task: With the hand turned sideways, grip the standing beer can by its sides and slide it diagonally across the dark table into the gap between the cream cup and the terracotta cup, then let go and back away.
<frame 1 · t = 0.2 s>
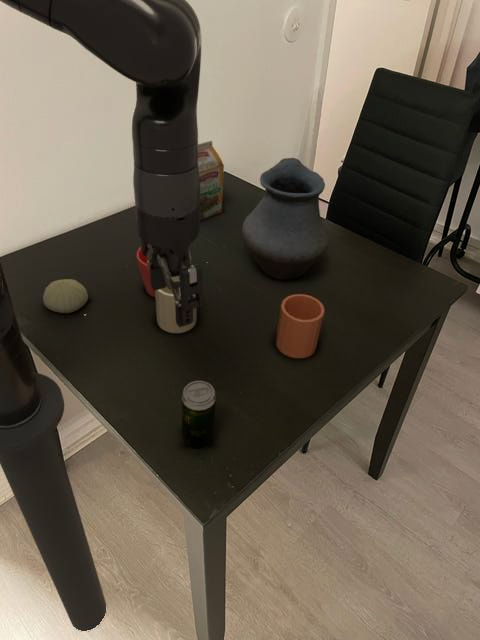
hand: (171, 305, 69), 28 cm above the table, tool pointing down, fingers open, 8 cm apart
sea urchin shell: (67, 303, 111), on the table
flower pot: (163, 288, 117), on the table
terracotta cup: (296, 344, 105), on the table
dark grey vase: (280, 266, 126), on the table
cream cup: (176, 320, 109), on the table
beer can: (198, 439, 86), on the table
milk carton: (196, 210, 145), on the table
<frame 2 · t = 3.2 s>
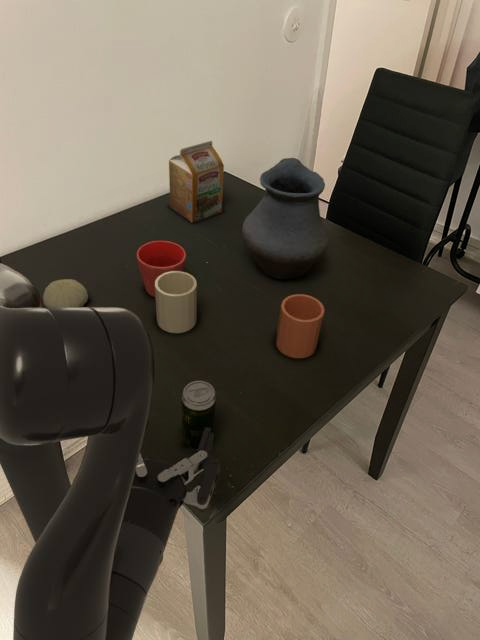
hand: (176, 424, 66), 18 cm above the table, tool horizontal, fingers open, 8 cm apart
nothing on the table moved.
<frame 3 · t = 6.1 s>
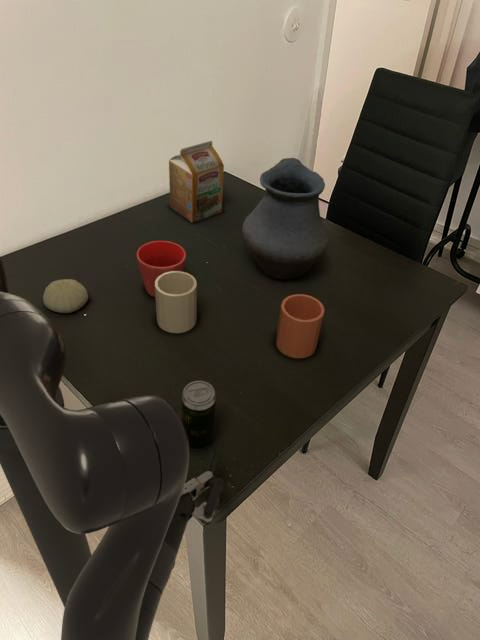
hand: (186, 446, 77), 7 cm above the table, tool horizontal, fingers open, 8 cm apart
nothing on the table moved.
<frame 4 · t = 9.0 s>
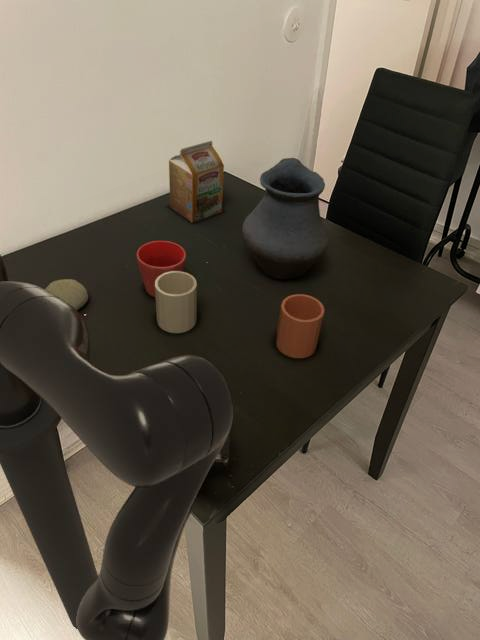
hand: (202, 401, 84), 7 cm above the table, tool horizontal, fingers closed on beer can, 5 cm apart
beer can: (198, 439, 86), on the table, touching gripper
everything else where it was.
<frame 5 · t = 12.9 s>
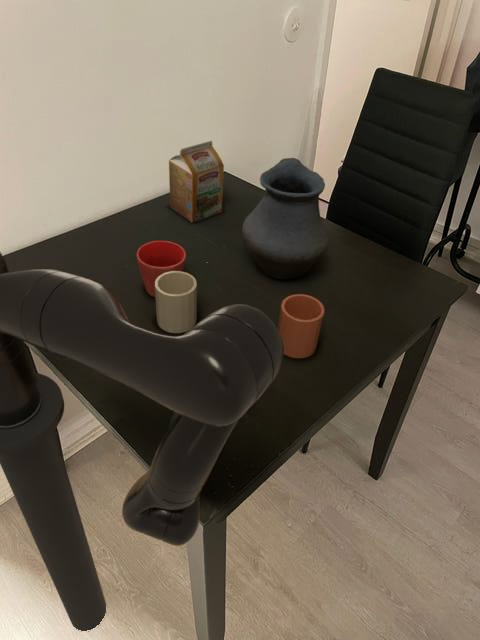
hand: (223, 346, 93), 7 cm above the table, tool horizontal, fingers closed on beer can, 5 cm apart
beer can: (218, 383, 96), on the table, touching gripper
everything else where it was.
when the fingers open (7 cm above the table, at t = 17.2 s): beer can stays where it is, on the table.
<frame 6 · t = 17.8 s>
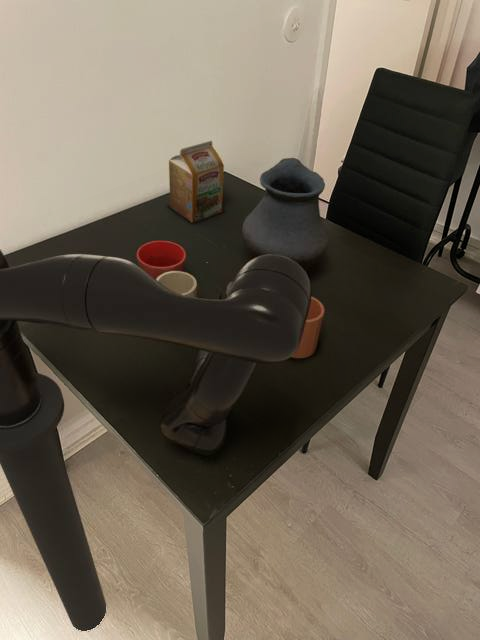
hand: (239, 300, 104), 7 cm above the table, tool horizontal, fingers open, 8 cm apart
beer can: (236, 333, 107), on the table
everything else where it was.
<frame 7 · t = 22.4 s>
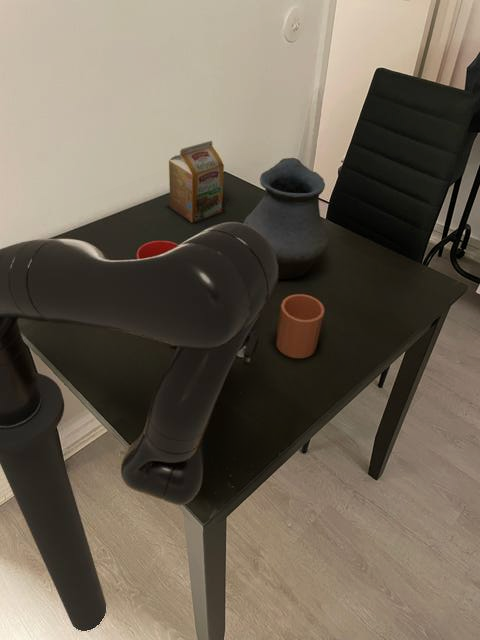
hand: (224, 311, 89), 15 cm above the table, tool horizontal, fingers open, 8 cm apart
nothing on the table moved.
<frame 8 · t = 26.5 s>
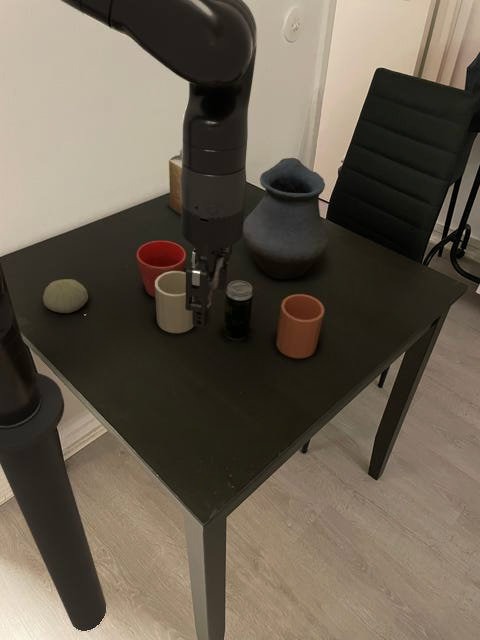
hand: (209, 305, 69), 28 cm above the table, tool pointing down, fingers open, 8 cm apart
nothing on the table moved.
at the end: beer can 13.2 cm from the cream cup (horizontally); beer can 12.8 cm from the terracotta cup (horizontally); beer can tilted 0° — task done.
